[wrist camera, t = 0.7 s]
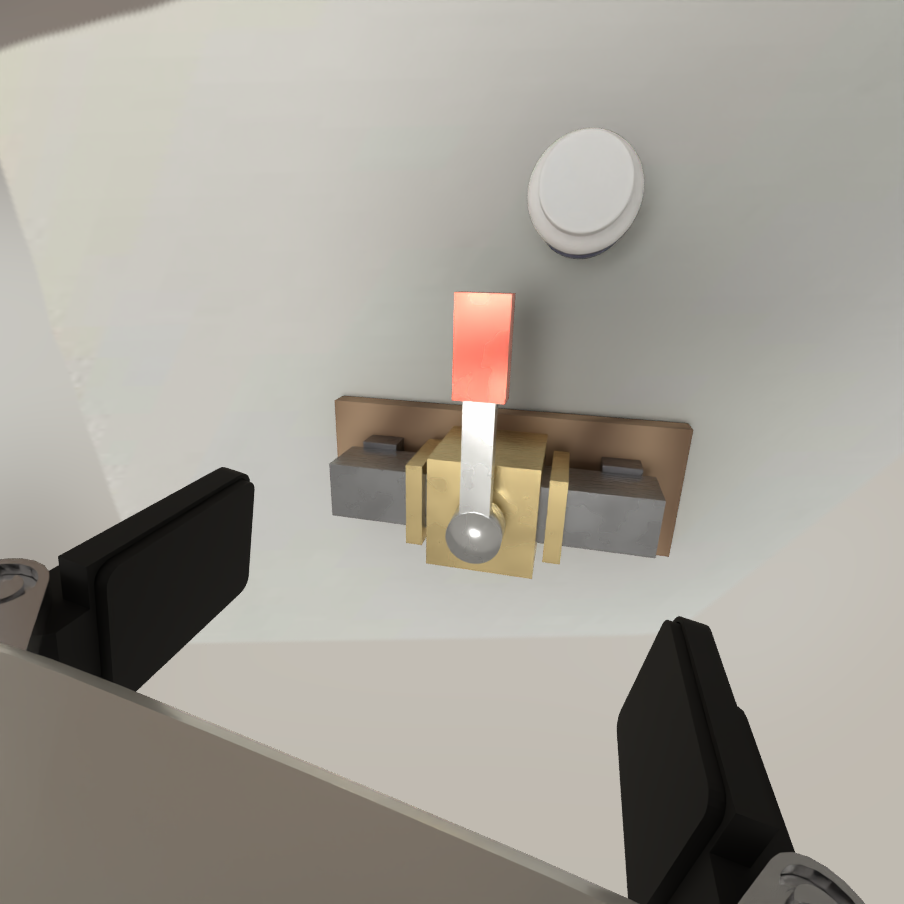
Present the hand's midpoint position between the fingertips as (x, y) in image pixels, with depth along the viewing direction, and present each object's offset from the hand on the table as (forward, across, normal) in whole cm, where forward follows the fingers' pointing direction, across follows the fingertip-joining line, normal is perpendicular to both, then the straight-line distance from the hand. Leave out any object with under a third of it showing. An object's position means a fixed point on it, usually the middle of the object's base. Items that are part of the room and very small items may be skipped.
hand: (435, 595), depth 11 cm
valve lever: (+16, +2, +2) cm, 17 cm away
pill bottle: (+25, 0, -10) cm, 27 cm away
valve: (+23, +1, +7) cm, 25 cm away
